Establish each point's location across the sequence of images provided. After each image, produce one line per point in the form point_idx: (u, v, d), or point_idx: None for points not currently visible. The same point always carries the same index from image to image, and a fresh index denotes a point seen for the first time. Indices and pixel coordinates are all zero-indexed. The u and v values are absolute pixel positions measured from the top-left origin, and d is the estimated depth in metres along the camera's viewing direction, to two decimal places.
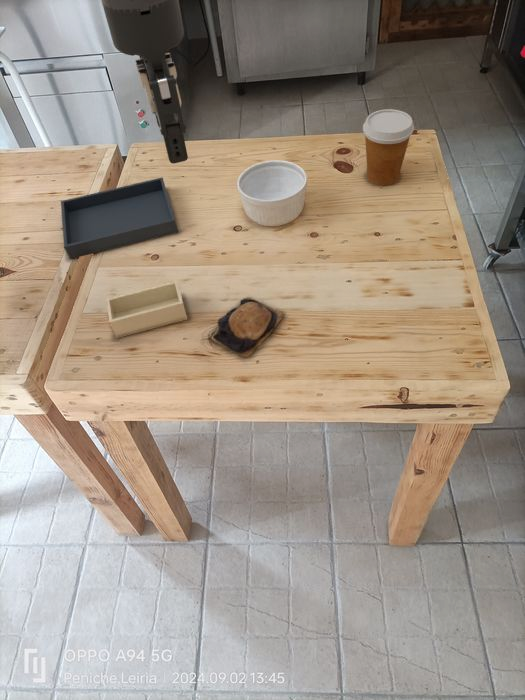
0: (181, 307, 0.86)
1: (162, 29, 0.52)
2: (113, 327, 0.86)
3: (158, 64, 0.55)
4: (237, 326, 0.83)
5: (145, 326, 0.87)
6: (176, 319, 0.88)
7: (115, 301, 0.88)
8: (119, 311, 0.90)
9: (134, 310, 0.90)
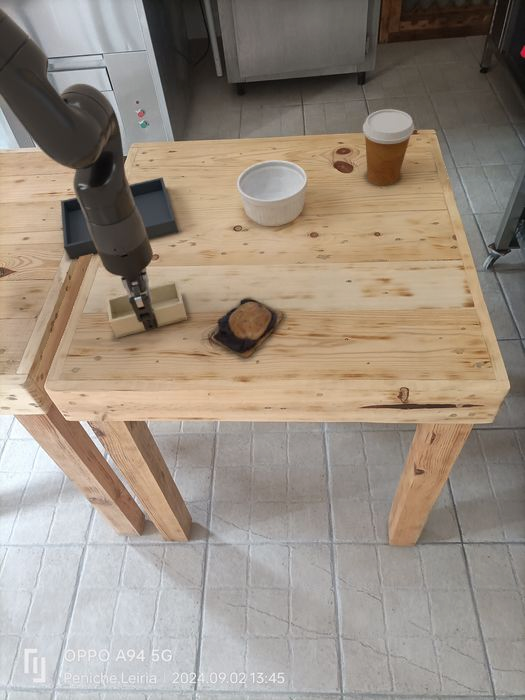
0: (181, 307, 0.86)
1: (136, 261, 0.76)
2: (113, 327, 0.86)
3: (134, 280, 0.78)
4: (237, 326, 0.83)
5: None
6: (176, 319, 0.88)
7: (115, 301, 0.88)
8: (119, 311, 0.90)
9: None
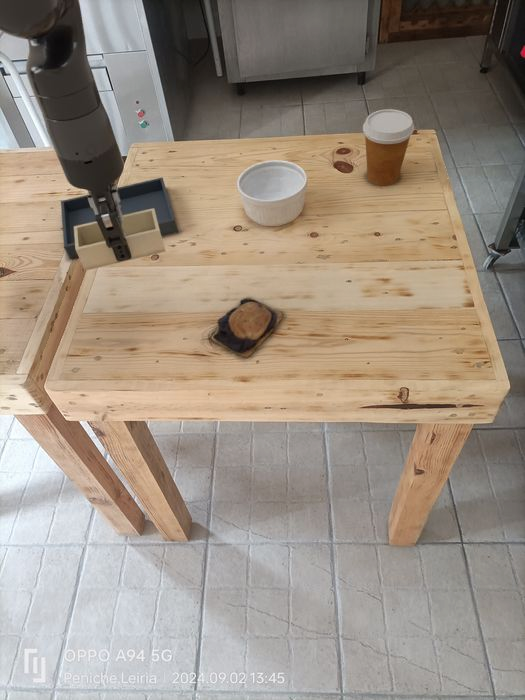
0: (158, 235, 0.76)
1: (103, 171, 0.66)
2: (80, 256, 0.76)
3: (101, 195, 0.68)
4: (237, 326, 0.83)
5: None
6: (152, 251, 0.78)
7: (84, 229, 0.78)
8: (89, 242, 0.80)
9: None
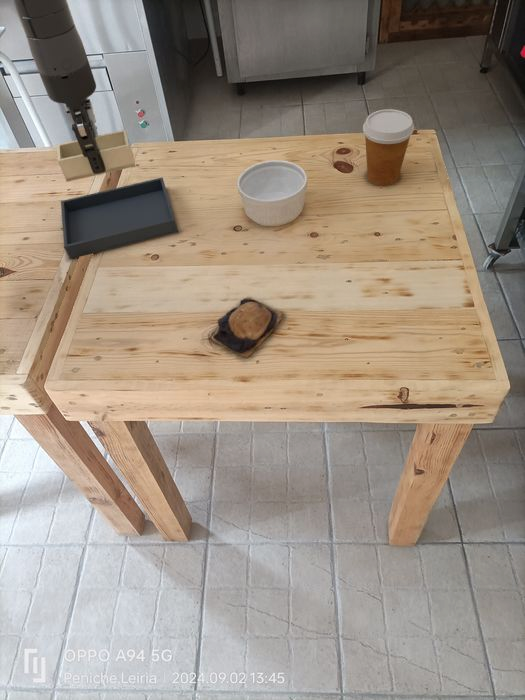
0: (128, 150, 0.90)
1: (77, 87, 0.80)
2: (62, 168, 0.89)
3: (77, 109, 0.82)
4: (237, 326, 0.83)
5: None
6: (124, 165, 0.92)
7: (66, 147, 0.92)
8: None
9: None
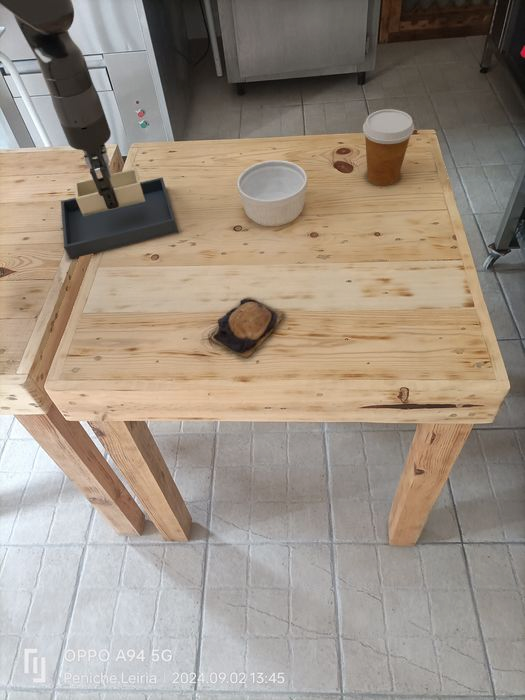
0: (138, 188, 0.99)
1: (95, 136, 0.89)
2: (79, 204, 0.99)
3: (94, 154, 0.91)
4: (237, 326, 0.83)
5: None
6: (135, 200, 1.01)
7: (82, 185, 1.01)
8: None
9: None
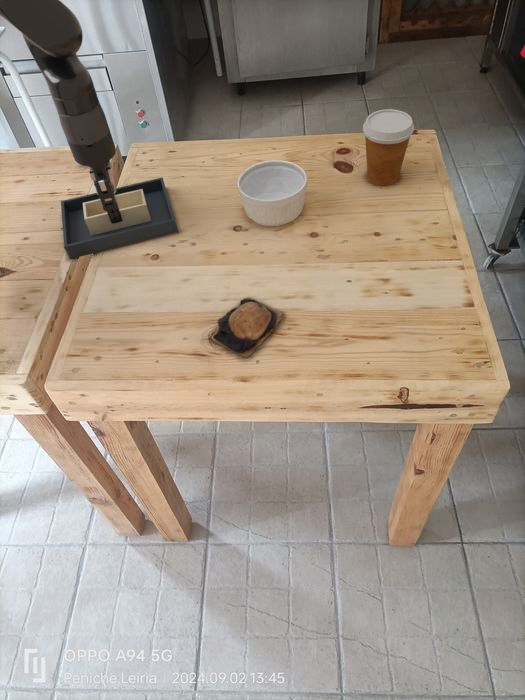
0: (145, 208, 1.03)
1: (100, 153, 0.92)
2: (88, 224, 1.02)
3: (99, 170, 0.94)
4: (237, 326, 0.83)
5: (115, 225, 1.04)
6: (141, 220, 1.05)
7: (90, 205, 1.05)
8: (94, 215, 1.07)
9: None
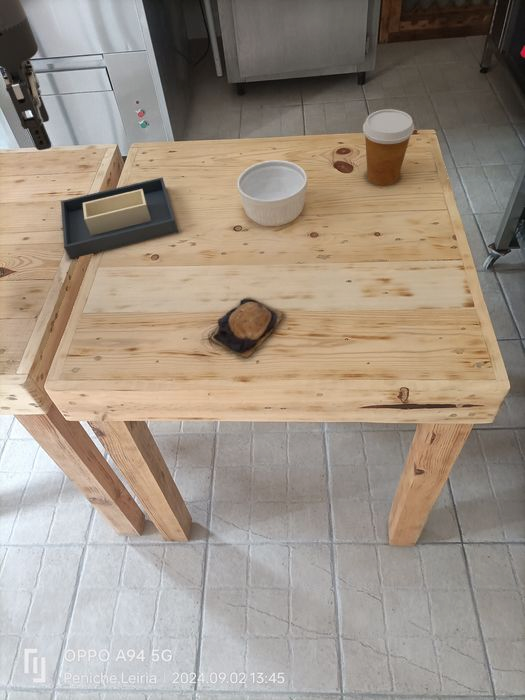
0: (145, 208, 1.03)
1: (14, 47, 0.70)
2: (88, 224, 1.02)
3: (15, 73, 0.72)
4: (237, 326, 0.83)
5: (115, 225, 1.04)
6: (141, 220, 1.05)
7: (90, 205, 1.05)
8: (94, 215, 1.07)
9: None
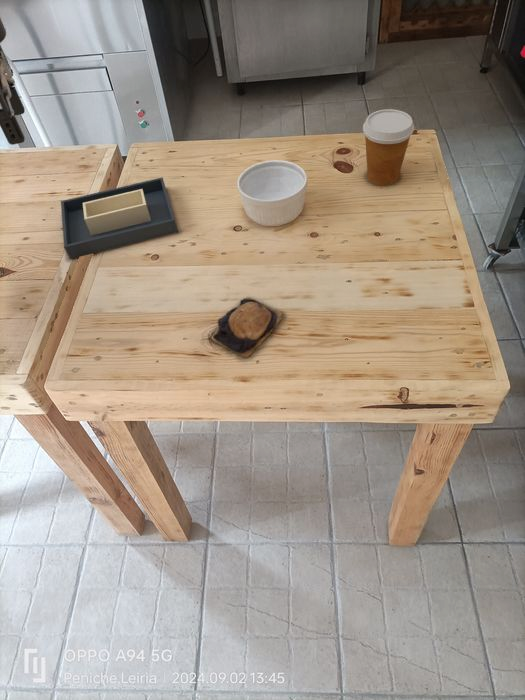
0: (145, 208, 1.03)
1: None
2: (88, 224, 1.02)
3: None
4: (237, 326, 0.83)
5: (115, 225, 1.04)
6: (141, 220, 1.05)
7: (90, 205, 1.05)
8: (94, 215, 1.07)
9: None
